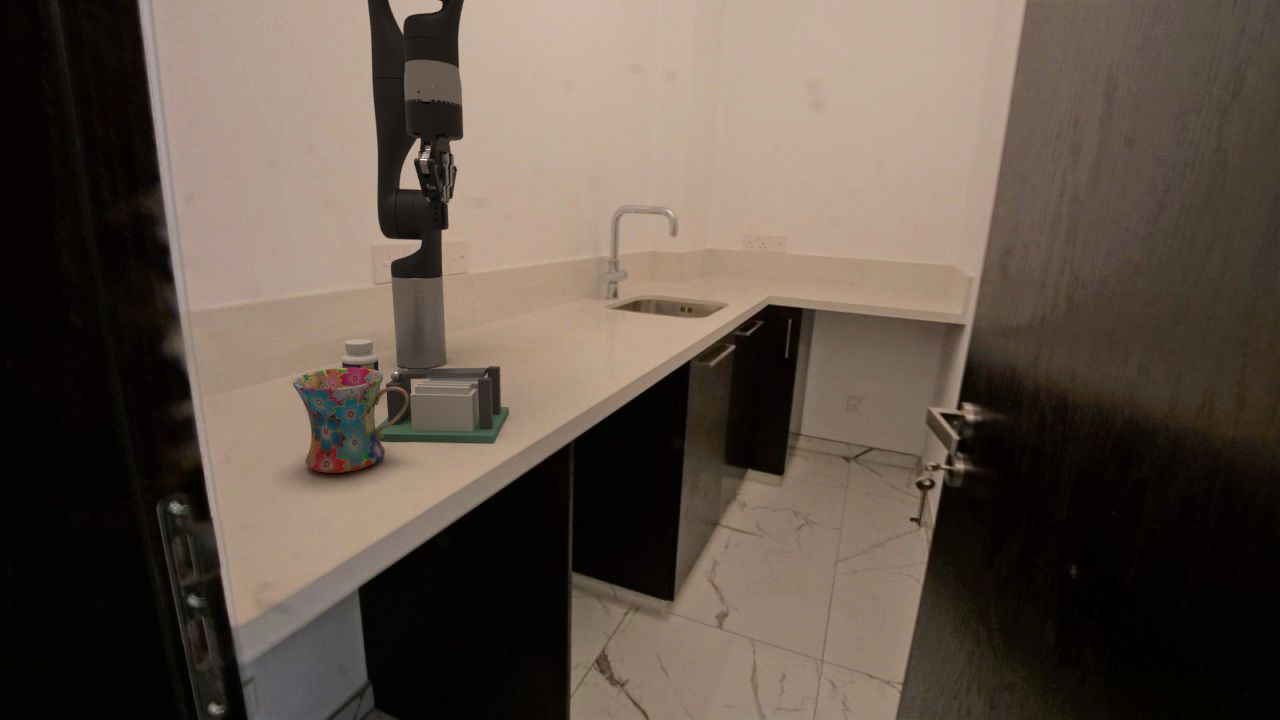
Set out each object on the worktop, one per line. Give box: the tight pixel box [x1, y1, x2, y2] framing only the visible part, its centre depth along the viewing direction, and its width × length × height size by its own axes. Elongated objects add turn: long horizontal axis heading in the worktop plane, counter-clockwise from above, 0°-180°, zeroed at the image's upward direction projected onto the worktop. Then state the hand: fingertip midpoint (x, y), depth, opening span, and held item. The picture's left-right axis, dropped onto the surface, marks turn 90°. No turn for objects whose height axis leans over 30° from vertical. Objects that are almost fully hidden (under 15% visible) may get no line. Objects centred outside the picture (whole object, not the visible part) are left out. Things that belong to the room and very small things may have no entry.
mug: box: [292, 367, 409, 474], centre depth 69 cm, size 12×9×11 cm
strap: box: [390, 367, 488, 381], centre depth 81 cm, size 3×12×1 cm, turn 93°
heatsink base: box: [375, 365, 510, 444], centre depth 82 cm, size 12×16×8 cm
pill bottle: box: [341, 338, 381, 395], centre depth 95 cm, size 5×5×9 cm
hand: (439, 229), depth 85 cm, fingers closed
